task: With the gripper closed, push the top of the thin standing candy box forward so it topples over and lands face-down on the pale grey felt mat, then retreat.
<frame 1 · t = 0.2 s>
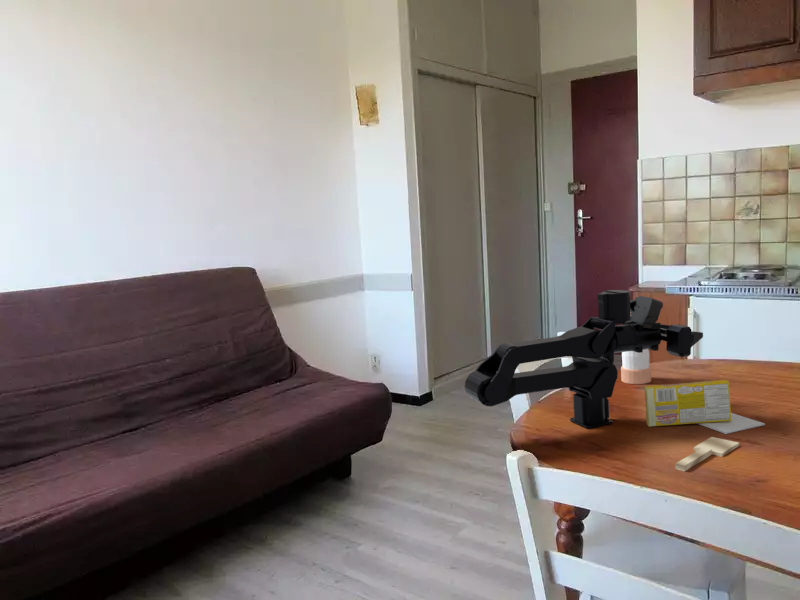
hand: (686, 331, 143), 16 cm above the table, tool horizontal, fingers open, 9 cm apart
wooden turner: (705, 455, 116), on the table
felt mat: (713, 418, 134), on the table
candy box: (688, 423, 132), on the table, touching felt mat
pepper shaker: (636, 381, 167), on the table
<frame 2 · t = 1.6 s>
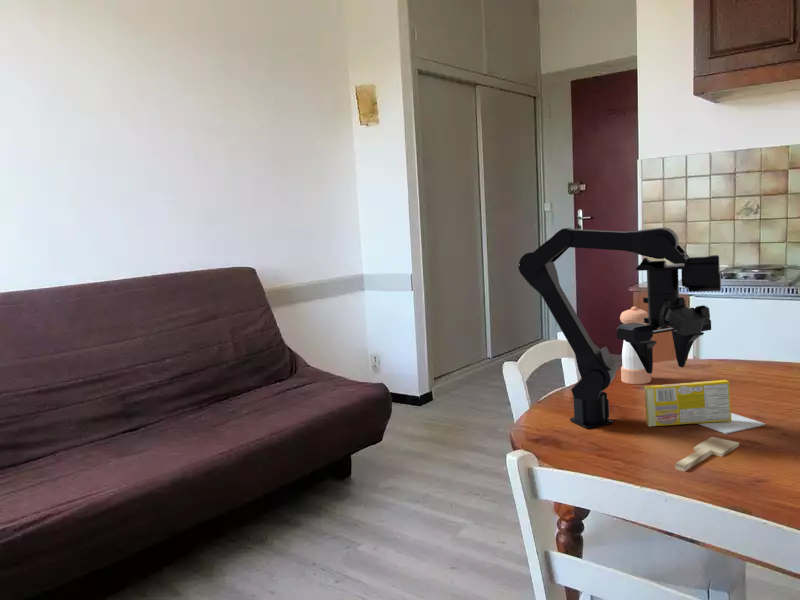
hand: (665, 370, 129), 12 cm above the table, tool pointing down, fingers open, 8 cm apart
nothing on the table moved.
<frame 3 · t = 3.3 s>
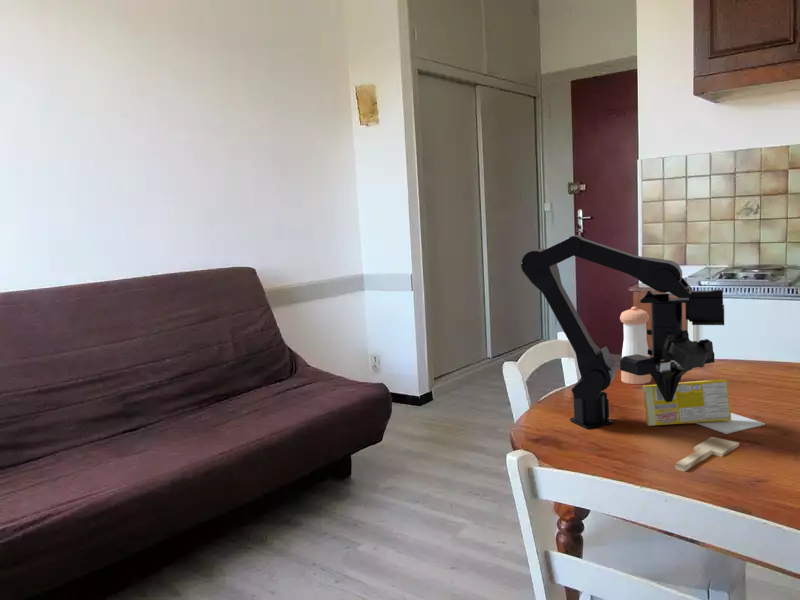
hand: (668, 401, 130), 6 cm above the table, tool pointing down, fingers closed
nothing on the table moved.
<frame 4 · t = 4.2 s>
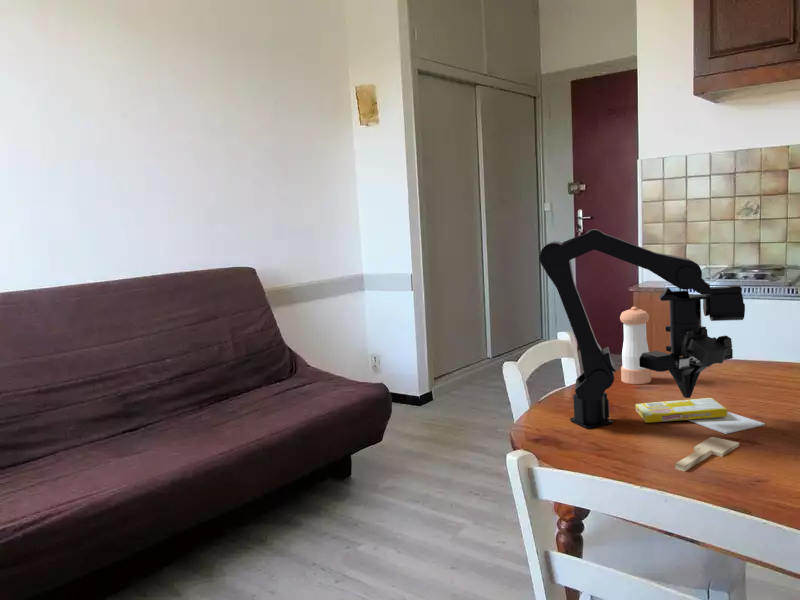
hand: (687, 397, 131), 6 cm above the table, tool pointing down, fingers closed
candy box: (686, 417, 133), point 1 cm above the table, touching felt mat
everything else where it was.
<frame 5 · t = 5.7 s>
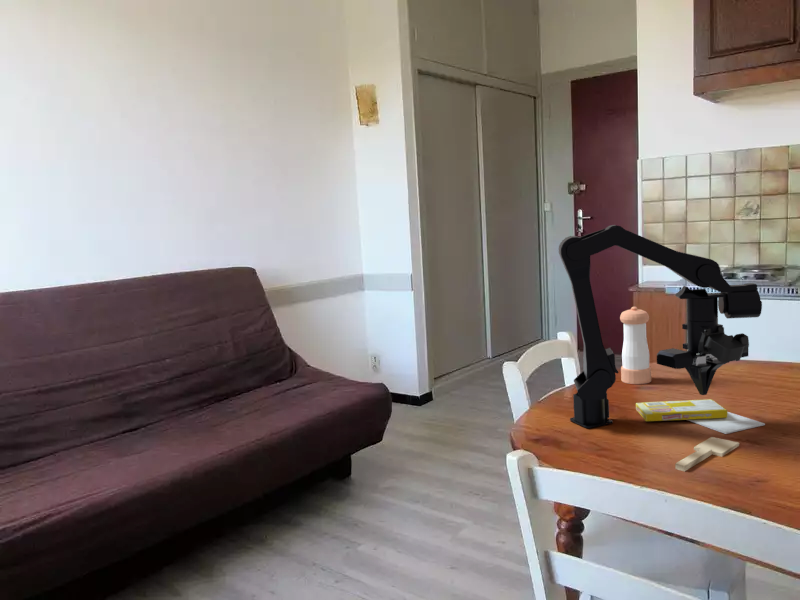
hand: (703, 394, 133), 5 cm above the table, tool pointing down, fingers closed
nothing on the table moved.
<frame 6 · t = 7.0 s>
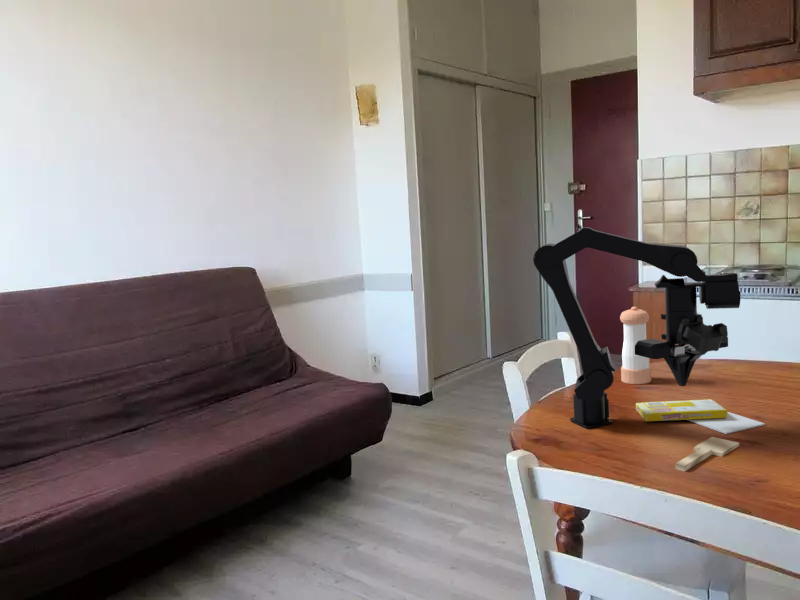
hand: (682, 385, 131), 8 cm above the table, tool pointing down, fingers closed
nothing on the table moved.
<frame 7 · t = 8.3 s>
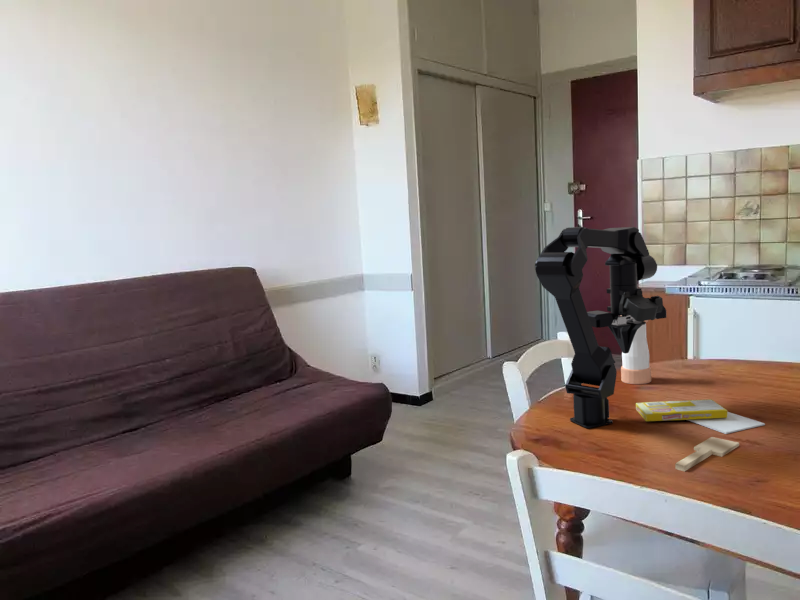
hand: (625, 352, 146), 12 cm above the table, tool pointing down, fingers closed
nothing on the table moved.
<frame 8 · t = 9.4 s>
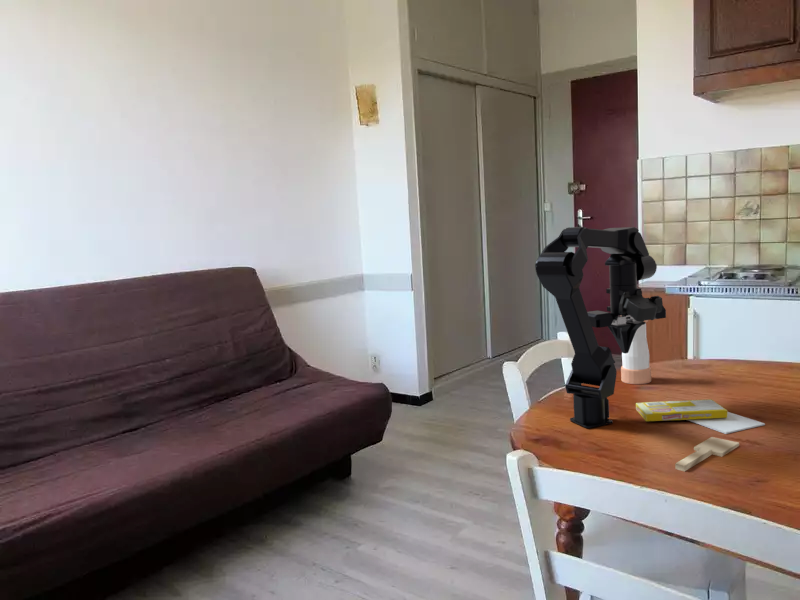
hand: (625, 352, 146), 12 cm above the table, tool pointing down, fingers closed
nothing on the table moved.
at the end: candy box tilted 88°; candy box inside the target area (6.2 cm from its centre), point 1.2 cm above the table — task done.
